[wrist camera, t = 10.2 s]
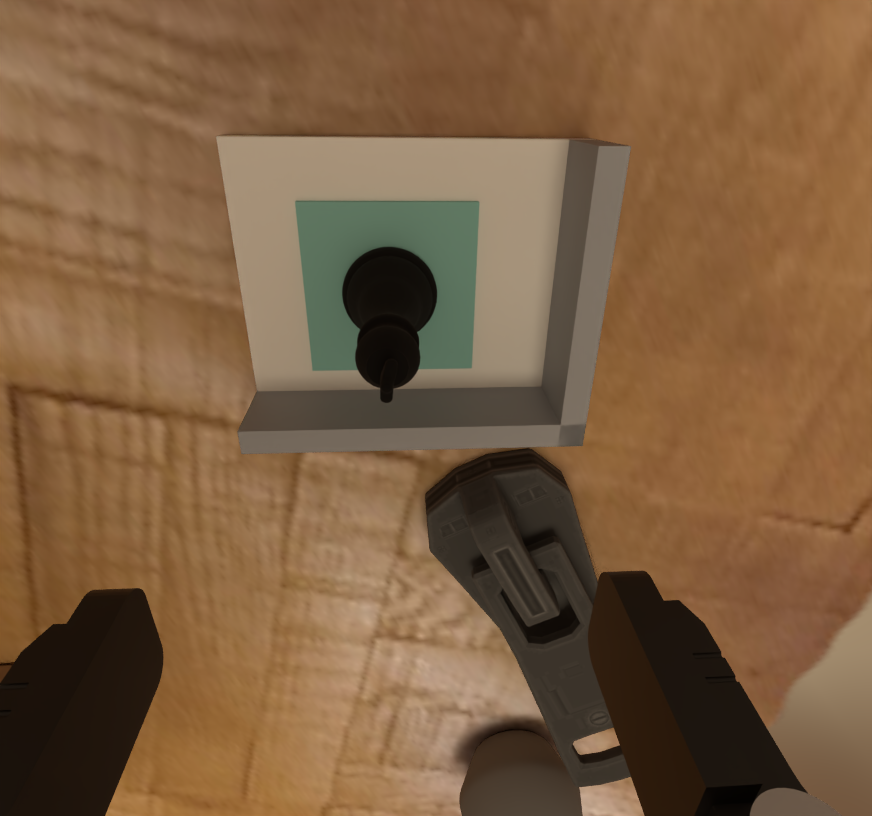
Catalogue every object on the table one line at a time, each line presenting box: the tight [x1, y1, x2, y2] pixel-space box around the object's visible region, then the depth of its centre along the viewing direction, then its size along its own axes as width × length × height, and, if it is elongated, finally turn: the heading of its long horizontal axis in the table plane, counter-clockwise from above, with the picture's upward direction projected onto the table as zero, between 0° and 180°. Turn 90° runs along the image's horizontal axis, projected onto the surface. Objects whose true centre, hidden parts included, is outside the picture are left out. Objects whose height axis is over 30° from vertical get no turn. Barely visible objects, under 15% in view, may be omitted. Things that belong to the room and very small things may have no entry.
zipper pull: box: [425, 449, 631, 787], centre depth 36 cm, size 9×7×25 cm
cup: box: [460, 730, 583, 816], centre depth 43 cm, size 10×9×10 cm
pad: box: [295, 201, 480, 371], centre depth 26 cm, size 8×8×1 cm
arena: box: [216, 135, 631, 454], centre depth 25 cm, size 16×13×5 cm
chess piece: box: [342, 247, 437, 403], centre depth 22 cm, size 4×4×10 cm
